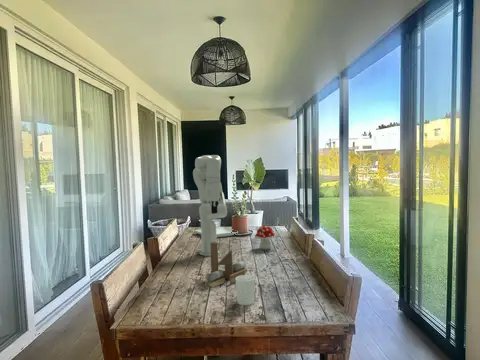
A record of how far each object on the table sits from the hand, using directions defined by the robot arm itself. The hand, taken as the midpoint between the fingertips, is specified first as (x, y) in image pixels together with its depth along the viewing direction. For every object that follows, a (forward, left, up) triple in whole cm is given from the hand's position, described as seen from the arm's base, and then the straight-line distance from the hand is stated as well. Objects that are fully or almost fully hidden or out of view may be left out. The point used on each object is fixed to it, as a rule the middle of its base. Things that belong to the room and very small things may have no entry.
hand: (214, 213), depth 194 cm
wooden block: (+18, -15, -29) cm, 37 cm away
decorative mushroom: (+3, +45, -29) cm, 54 cm away
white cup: (+45, -32, -29) cm, 63 cm away
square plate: (-55, +61, -30) cm, 87 cm away
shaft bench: (+22, -14, -29) cm, 39 cm away
